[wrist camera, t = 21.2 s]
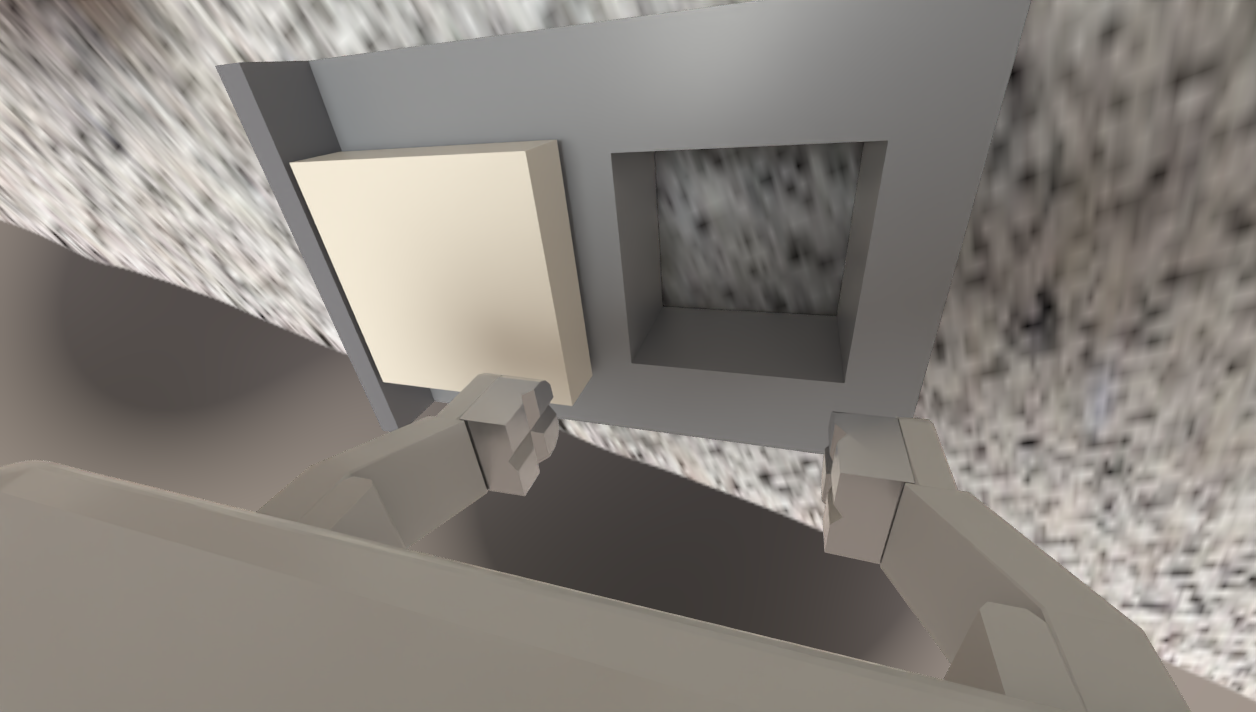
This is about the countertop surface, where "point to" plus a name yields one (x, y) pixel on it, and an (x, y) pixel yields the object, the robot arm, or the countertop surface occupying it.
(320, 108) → the socket block
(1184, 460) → the countertop surface
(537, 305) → the panel
